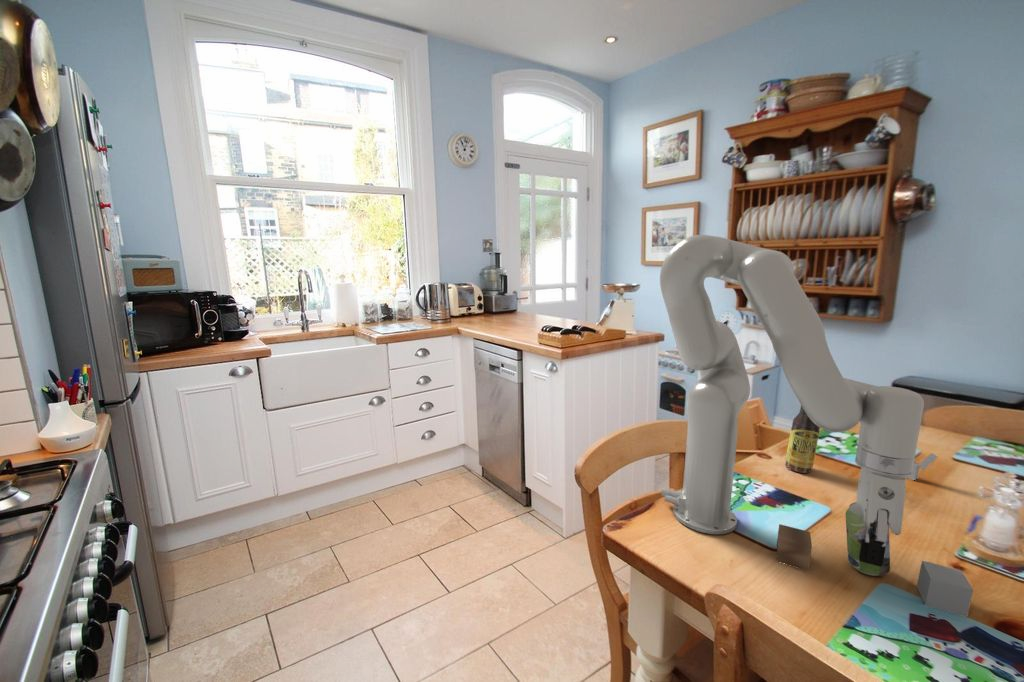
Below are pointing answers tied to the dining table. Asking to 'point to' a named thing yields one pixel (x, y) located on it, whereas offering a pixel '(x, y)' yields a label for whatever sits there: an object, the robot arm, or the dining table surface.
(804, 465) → the sauce bottle
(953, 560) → the dining table surface
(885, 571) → the beverage can
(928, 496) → the dining table surface
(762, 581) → the dining table surface
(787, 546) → the walnut block
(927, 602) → the slate grey block
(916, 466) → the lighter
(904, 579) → the dining table surface
